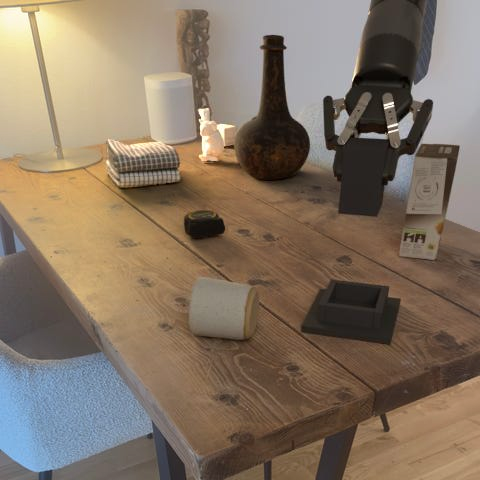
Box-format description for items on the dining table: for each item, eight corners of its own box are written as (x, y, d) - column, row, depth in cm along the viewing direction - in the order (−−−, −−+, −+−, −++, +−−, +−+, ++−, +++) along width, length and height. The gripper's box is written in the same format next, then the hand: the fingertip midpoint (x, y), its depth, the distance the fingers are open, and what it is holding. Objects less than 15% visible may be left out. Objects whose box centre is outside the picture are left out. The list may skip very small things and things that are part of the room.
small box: (238, 144, 161) (237, 125, 158) (224, 148, 158) (223, 128, 155) (223, 141, 164) (223, 122, 161) (210, 145, 161) (209, 126, 158)
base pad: (399, 304, 83) (403, 282, 80) (390, 345, 74) (394, 321, 72) (319, 294, 86) (321, 272, 84) (301, 332, 77) (302, 308, 75)
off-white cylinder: (249, 351, 73) (249, 296, 68) (189, 345, 75) (185, 290, 70) (265, 314, 81) (266, 263, 77) (210, 309, 83) (208, 259, 78)
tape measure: (190, 244, 103) (188, 223, 100) (180, 231, 108) (179, 211, 105) (225, 238, 104) (225, 218, 102) (215, 226, 110) (214, 206, 107)
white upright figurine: (192, 158, 150) (189, 107, 142) (216, 155, 152) (214, 105, 144) (203, 166, 144) (201, 113, 136) (228, 163, 146) (226, 110, 138)
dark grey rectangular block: (382, 204, 75) (391, 139, 70) (376, 217, 72) (385, 148, 67) (345, 201, 77) (351, 137, 72) (338, 213, 73) (343, 146, 68)
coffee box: (436, 261, 95) (457, 158, 85) (397, 257, 96) (414, 155, 86) (440, 241, 101) (460, 144, 91) (404, 238, 103) (420, 142, 93)
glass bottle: (286, 162, 145) (290, 29, 128) (322, 179, 133) (332, 35, 115) (223, 171, 140) (218, 34, 122) (254, 190, 127) (254, 40, 110)
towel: (119, 192, 128) (114, 155, 123) (105, 172, 141) (100, 137, 136) (184, 184, 132) (181, 147, 127) (164, 165, 145) (160, 131, 140)
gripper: (329, 30, 70) (301, 159, 68) (450, 30, 66) (423, 167, 65) (334, 74, 77) (309, 192, 76) (443, 77, 73) (419, 200, 72)
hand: (362, 179), depth 70 cm, fingers closed on dark grey rectangular block, 5 cm apart
